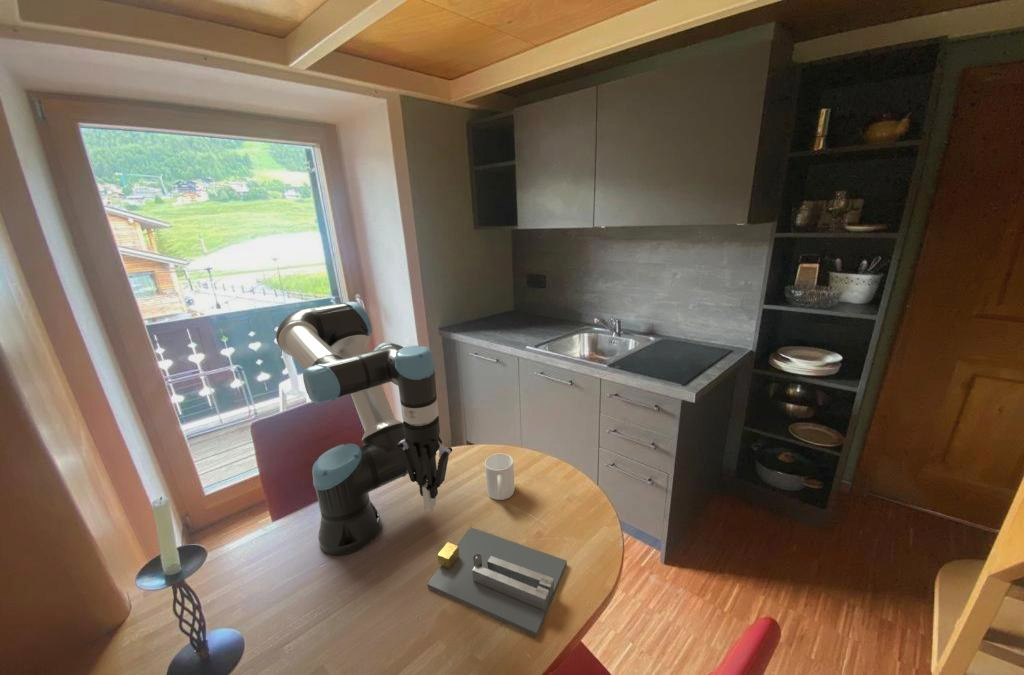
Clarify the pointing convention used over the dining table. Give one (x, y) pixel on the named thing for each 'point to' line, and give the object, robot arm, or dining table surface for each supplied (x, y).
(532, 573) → the tongs jaw
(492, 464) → the mug
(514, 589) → the tongs fixed
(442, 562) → the tab
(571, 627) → the dining table surface
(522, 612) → the board
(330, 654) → the dining table surface
